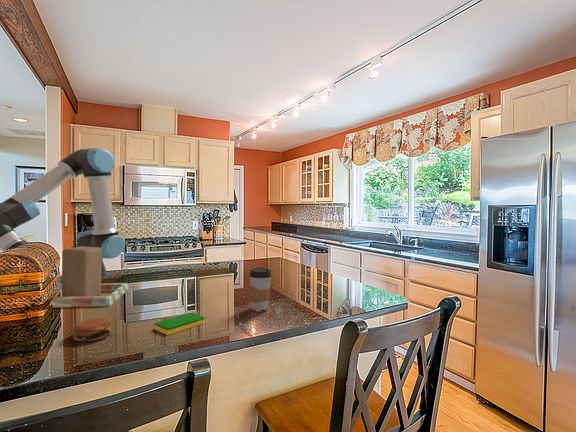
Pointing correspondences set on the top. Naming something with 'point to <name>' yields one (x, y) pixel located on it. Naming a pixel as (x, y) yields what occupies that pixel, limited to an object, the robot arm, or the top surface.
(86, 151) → the robot arm
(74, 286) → the block
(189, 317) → the dish sponge
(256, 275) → the coffee cup
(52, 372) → the top surface
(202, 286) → the top surface
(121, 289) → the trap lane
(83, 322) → the burger
